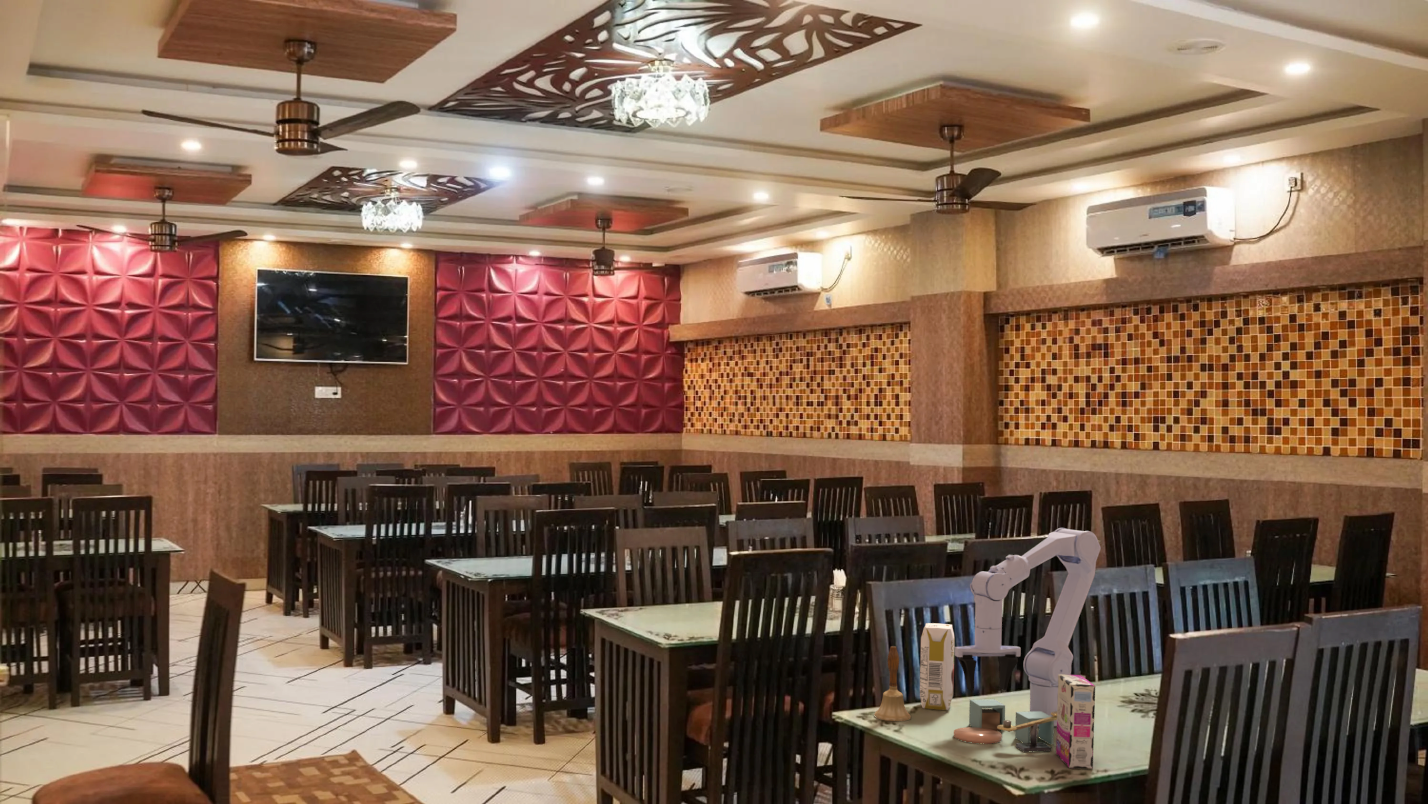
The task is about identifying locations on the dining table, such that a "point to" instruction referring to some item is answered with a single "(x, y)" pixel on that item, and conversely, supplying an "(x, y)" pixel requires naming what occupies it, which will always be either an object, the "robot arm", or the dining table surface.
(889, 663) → the hand bell
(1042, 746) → the balance
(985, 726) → the walnut block
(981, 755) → the dining table surface
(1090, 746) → the candy bar box
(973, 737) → the terracotta dish
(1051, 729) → the teal cover
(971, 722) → the teal cover
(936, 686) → the juice carton
